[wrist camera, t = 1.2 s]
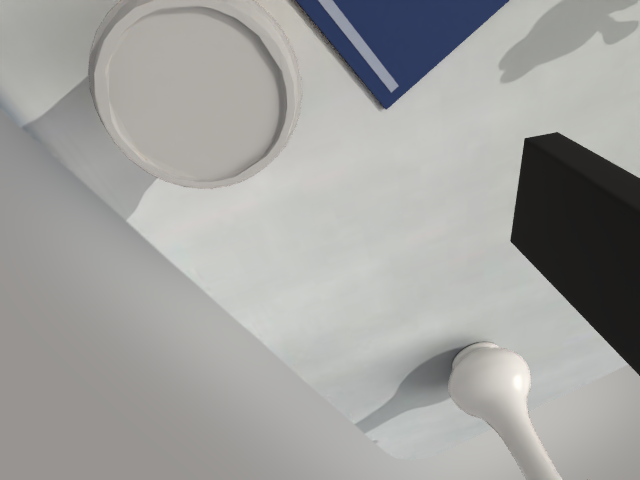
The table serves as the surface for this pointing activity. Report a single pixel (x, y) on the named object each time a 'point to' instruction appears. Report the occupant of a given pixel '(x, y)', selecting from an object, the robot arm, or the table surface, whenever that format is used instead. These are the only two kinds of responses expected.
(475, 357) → the flower vase
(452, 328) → the table surface
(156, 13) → the disposable coffee cup
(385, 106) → the napkin
